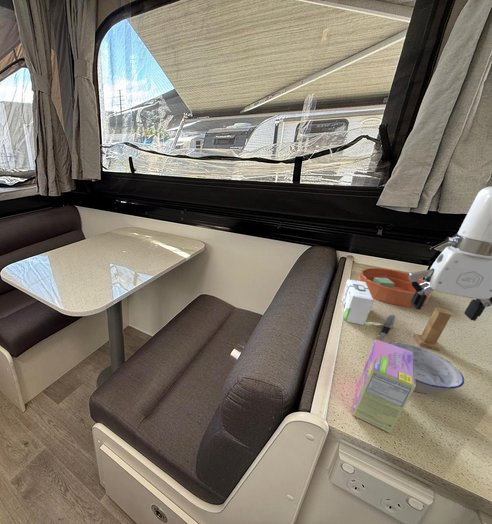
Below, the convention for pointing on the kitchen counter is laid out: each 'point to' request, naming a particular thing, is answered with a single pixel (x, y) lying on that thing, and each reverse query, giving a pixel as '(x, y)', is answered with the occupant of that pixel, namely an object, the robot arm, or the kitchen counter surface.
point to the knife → (386, 327)
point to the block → (384, 282)
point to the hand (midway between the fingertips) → (441, 311)
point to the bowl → (432, 371)
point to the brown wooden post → (433, 329)
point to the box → (384, 385)
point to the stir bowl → (395, 296)
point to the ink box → (356, 302)
